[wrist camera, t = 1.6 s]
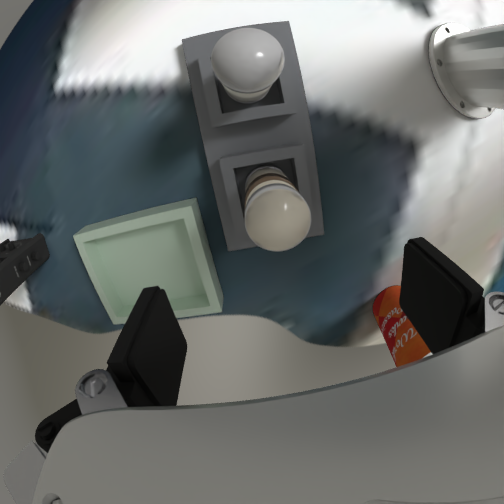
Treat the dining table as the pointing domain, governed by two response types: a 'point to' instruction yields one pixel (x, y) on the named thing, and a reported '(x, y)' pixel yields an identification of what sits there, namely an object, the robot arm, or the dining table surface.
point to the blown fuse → (274, 210)
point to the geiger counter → (20, 262)
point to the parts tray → (152, 260)
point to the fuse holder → (253, 132)
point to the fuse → (247, 63)
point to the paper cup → (398, 328)
